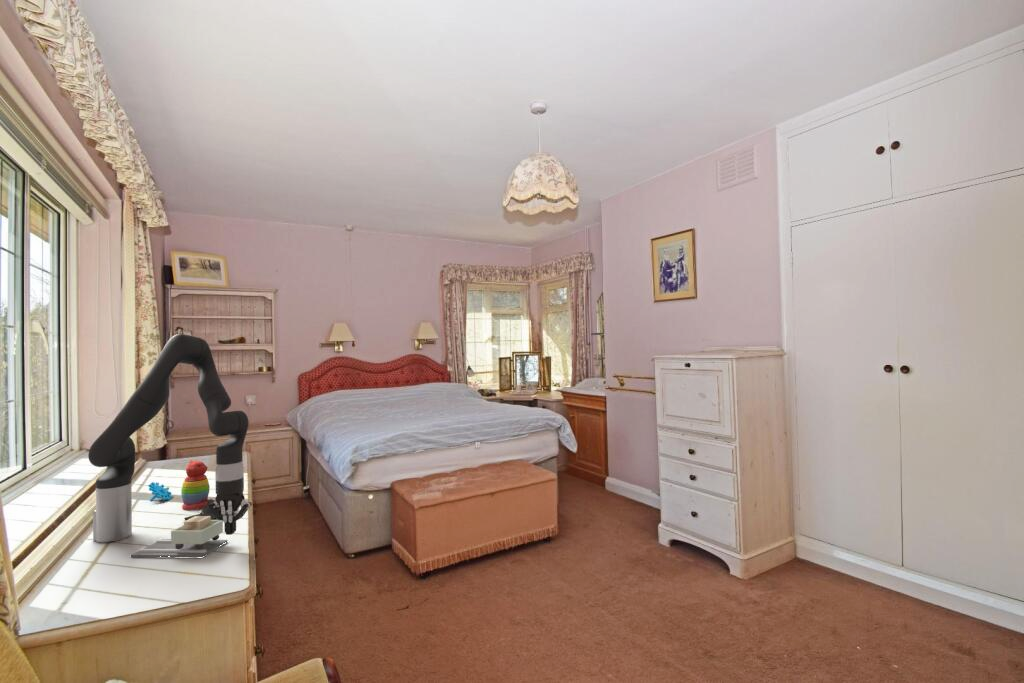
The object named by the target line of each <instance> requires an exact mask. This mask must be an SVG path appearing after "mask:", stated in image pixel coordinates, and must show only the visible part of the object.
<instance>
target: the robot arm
mask: <svg viewBox="0 0 1024 683" xmlns="http://www.w3.org/2000/svg"><path fill="white" fill-rule="evenodd" d="M178 364H186V365H192V366H193V367H194V368H195V369H196V370H197V372H198V374H199V380H198V383H197V384H198V385H197V393H198V396H199V397H200V399H201V401H202V404H203V406H204V407H205V409H206V413H207V414H206V415H207V416H206V417H207V420H208V421H207V422H208V428H209V431H210V432H211V434H213V436H216V437H224V436H229V437H228V439H227V440H226V441H224V442H222V443H219V444H218V445H217V446H216V451H215V456H216V457H215V460H216V461H215V462H216V463H215V464H216V465H215V495H216V496H215V498H214V499H215V501H214V502H213V503H211V504H209V505H208V507H209V509H210V510H211V511H212V513H213V514H214V515H215V517H216V520H219V521H220V520H222V521H223V530H224V533H225V535H226V536H227V535H228V536H229V535H230V536H231V535H233V534H235V533H236V530H237V521H239V520H241V519H243V516H245V514H246V513H247V512H248V511H249V509H250V508H251V507H252V504H253V503H252V501H247V500H246V498H245V494H244V487H245V486H244V485H245V482H244V481H245V480H244V476H245V475H244V474H245V472H244V471H245V470H244V462H243V460H244V459H243V449H244V444H245V440H246V437H247V432H248V429H249V422H250V421H249V417H248V415H247V413H246V412H244V411H242V410H233V411H232V410H231V411H227V410H228V409H229V408H230V407H231V405H232V399H231V398H230V395H229V394H228V391H227V390H226V388H225V387H224V385H223V383H222V381H221V379H220V377H219V373H218V370H217V367H216V365H215V364H216V363H215V361H214V358H213V354H212V351H211V348H210V346H209V344H208V342H207V341H206V340H205V339H203V338H202V337H198V336H194V335H189V334H184V333H177V334H174V335H173V336H171V337H170V338H169V339H168V340H167V342H166V343H165V345H164V347H163V349H162V350H161V352H160V353H159V355H158V357H157V359H156V360H155V362H154V364H153V366H152V367H151V369H150V370H149V371H148V372H147V375H146V376H145V377H144V379H143V380H142V381H141V383H140V384H139V385H138V386H137V388H136V389H135V391H134V392H133V393H132V395H131V396H130V397H129V399H128V400H127V401H126V403H125V404H124V405H123V407H122V408H121V409H120V411H119V412H118V413H117V415H116V416H115V417H114V419H113V420H112V422H111V423H110V424H109V425H108V426H107V427H106V429H105V430H103V432H102V433H101V434H100V435H99V436H98V437H97V438H96V439H95V441H94V442H93V443H92V444H91V446H90V447H89V449H88V454H87V455H88V456H87V457H88V461H89V463H90V464H91V465H92V466H94V467H98V468H105V467H106V469H105V471H103V473H101V475H99V476H98V477H97V479H95V509H94V510H93V511H92V536H93V537H92V540H93V541H96V543H110V541H111V542H116V541H120V540H123V538H124V539H127V538H128V537H130V536H131V535H132V534H133V529H132V528H133V527H132V526H133V520H132V519H133V510H132V509H133V506H132V503H133V501H132V497H133V496H132V493H133V492H132V478H133V476H134V473H135V469H136V468H135V467H136V466H135V465H136V447H135V446H136V445H135V443H134V440H133V439H132V438H131V436H132V435H133V434H134V433H136V432H137V431H138V430H140V429H141V428H142V427H143V426H145V425H146V424H148V423H149V422H150V421H151V420H153V419H154V418H155V417H156V416H157V415H158V414H159V412H160V411H162V408H163V407H164V405H166V404H167V401H168V400H169V397H170V392H171V390H170V389H171V388H170V376H171V374H172V373H173V371H174V369H175V368H176V367H177V366H178ZM239 508H240V509H239Z"/></svg>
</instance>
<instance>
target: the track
mask: <svg viewBox="0 0 1024 683" xmlns="http://www.w3.org/2000/svg"><path fill="white" fill-rule="evenodd" d="M227 541H229V540H228V539H217V540H215V541H214V540H212V539H210V540H208V541H207V542H205V543H203V544H204V547H203V548H202V549H200V550H198V549H197V548H196V544H184V546H183V548H181V549H176V547H175V545H176V544H171V538H170V539H169V538H164V539H163V538H162V539H157V540H156V541H155V542H153V543H152V544H150V545H148V546H146V547H143V548H139V549H137V551H135V552H134V553H132V554H130V558H131V557H160V556H161V557H168V556H170V557H203V556H205V555H206V554H208V553H209V554H211V553H212V552H211V551H213V550H214V551H216V550H217V549H216V548H217V547H219V546H220V545H222V544H223V543H225V542H227ZM227 543H228V542H227ZM222 546H223V545H222ZM219 548H220V547H219ZM215 549H216V550H215ZM214 551H213V552H214ZM210 552H211V553H210ZM209 554H208V555H209ZM206 556H207V555H206ZM206 556H205V557H206ZM203 558H204V557H203Z"/></svg>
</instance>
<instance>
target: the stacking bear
mask: <svg viewBox="0 0 1024 683" xmlns="http://www.w3.org/2000/svg"><path fill="white" fill-rule="evenodd" d="M207 471H208V466H207V465H206V464H205V463H204V462H203V461H200V460H196V461H193V460H190V461H189V462H188V464H187V466H186V468H185V472H186V473H185V474H186V476H185V478H184V480H183V483H182V485H181V486H182V487H181V490H180V491H181V498H182V502H183V503H182V506H181V509H182V510H184V511H194V510H201V509H202V510H203V509H204V507H205V506H206V504H207V503H208V501H209V500H210V499H208V497H209V494H210V490H211V489H210V483H209V479H208V477H207V476H208V475H206V472H207Z"/></svg>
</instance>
